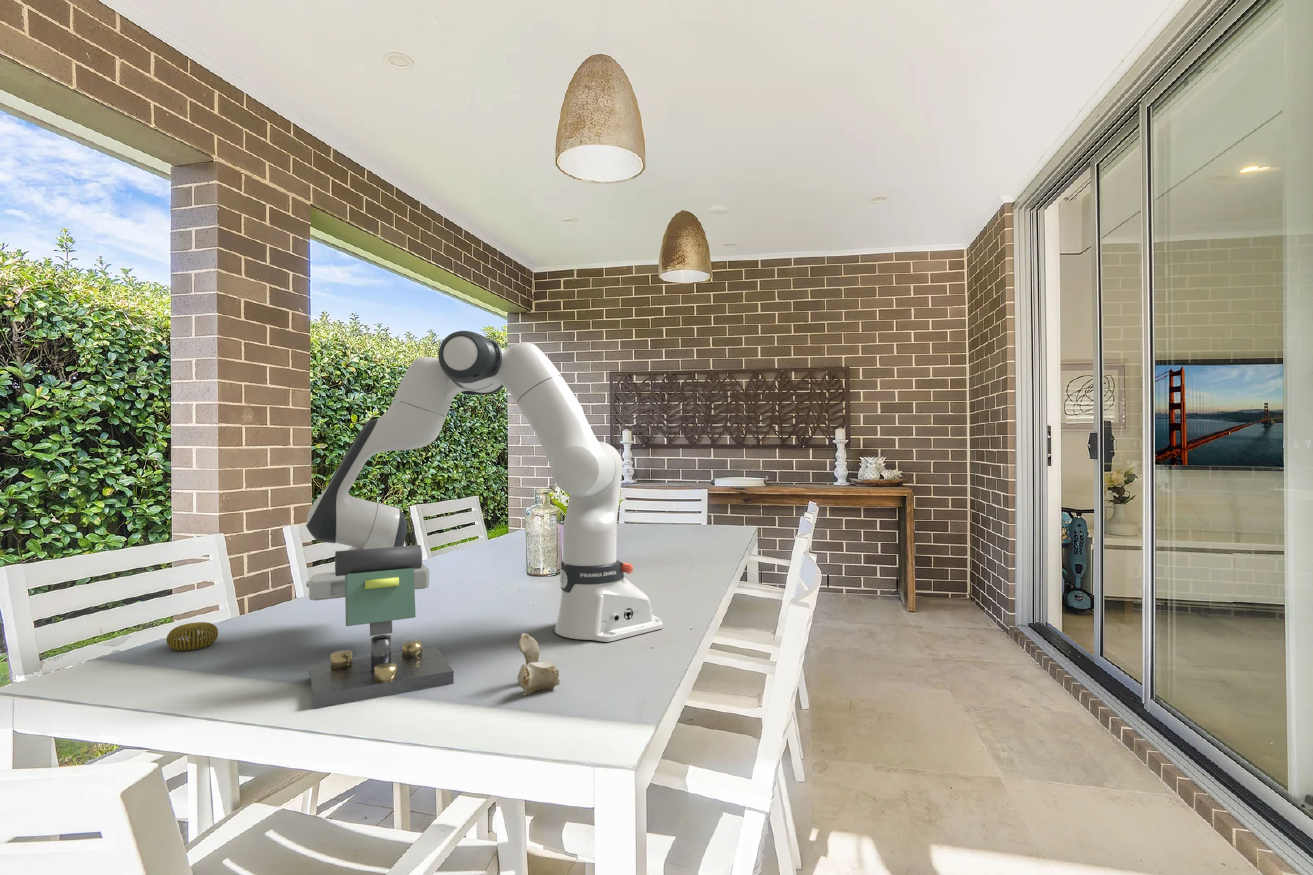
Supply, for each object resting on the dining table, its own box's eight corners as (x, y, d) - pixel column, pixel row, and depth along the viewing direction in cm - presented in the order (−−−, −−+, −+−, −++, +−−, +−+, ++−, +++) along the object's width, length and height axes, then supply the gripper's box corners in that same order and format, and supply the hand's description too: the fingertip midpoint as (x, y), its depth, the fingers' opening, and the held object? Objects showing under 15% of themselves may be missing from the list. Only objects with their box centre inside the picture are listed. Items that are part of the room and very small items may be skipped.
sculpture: (177, 621, 125) (224, 618, 127) (176, 642, 125) (224, 638, 127) (158, 633, 117) (209, 629, 119) (158, 655, 117) (209, 651, 119)
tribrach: (435, 657, 116) (436, 618, 116) (453, 683, 104) (453, 639, 104) (309, 677, 106) (310, 635, 106) (313, 708, 94) (313, 660, 94)
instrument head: (420, 628, 110) (417, 546, 113) (426, 628, 105) (423, 542, 108) (335, 640, 104) (334, 553, 107) (338, 640, 99) (337, 548, 102)
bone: (558, 691, 96) (526, 632, 98) (522, 712, 97) (490, 653, 98) (571, 674, 105) (542, 620, 106) (538, 694, 105) (509, 640, 106)
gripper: (305, 564, 119) (307, 578, 107) (421, 554, 130) (435, 566, 118) (305, 598, 119) (307, 616, 107) (421, 586, 130) (435, 600, 118)
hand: (375, 590), depth 113 cm, fingers closed
